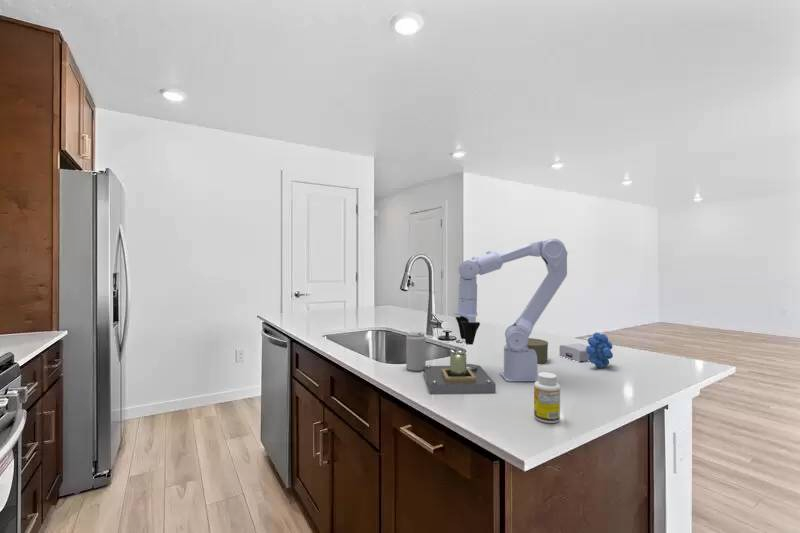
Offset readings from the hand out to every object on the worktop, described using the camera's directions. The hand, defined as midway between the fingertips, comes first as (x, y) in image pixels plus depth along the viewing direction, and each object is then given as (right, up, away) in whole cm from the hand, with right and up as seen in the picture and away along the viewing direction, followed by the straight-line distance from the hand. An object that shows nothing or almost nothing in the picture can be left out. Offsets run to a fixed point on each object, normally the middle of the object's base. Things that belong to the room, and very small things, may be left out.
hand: (466, 341), depth 121 cm
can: (+26, -10, +17) cm, 33 cm away
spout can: (-4, -11, -10) cm, 15 cm away
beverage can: (-16, -11, +6) cm, 20 cm away
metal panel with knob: (-4, -11, -8) cm, 14 cm away
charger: (+47, -10, +21) cm, 53 cm away
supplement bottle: (+13, -11, -33) cm, 37 cm away
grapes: (+46, -11, +7) cm, 48 cm away
